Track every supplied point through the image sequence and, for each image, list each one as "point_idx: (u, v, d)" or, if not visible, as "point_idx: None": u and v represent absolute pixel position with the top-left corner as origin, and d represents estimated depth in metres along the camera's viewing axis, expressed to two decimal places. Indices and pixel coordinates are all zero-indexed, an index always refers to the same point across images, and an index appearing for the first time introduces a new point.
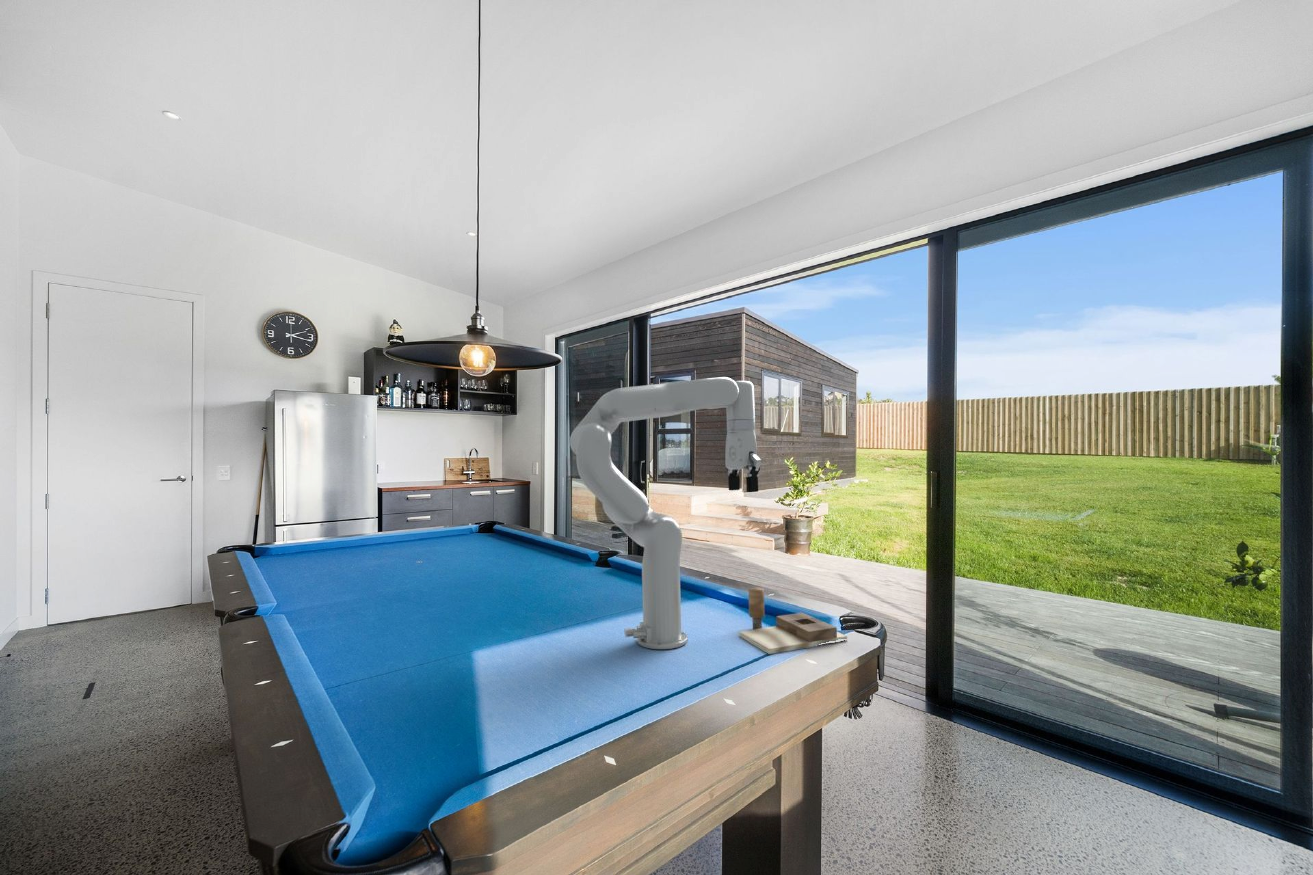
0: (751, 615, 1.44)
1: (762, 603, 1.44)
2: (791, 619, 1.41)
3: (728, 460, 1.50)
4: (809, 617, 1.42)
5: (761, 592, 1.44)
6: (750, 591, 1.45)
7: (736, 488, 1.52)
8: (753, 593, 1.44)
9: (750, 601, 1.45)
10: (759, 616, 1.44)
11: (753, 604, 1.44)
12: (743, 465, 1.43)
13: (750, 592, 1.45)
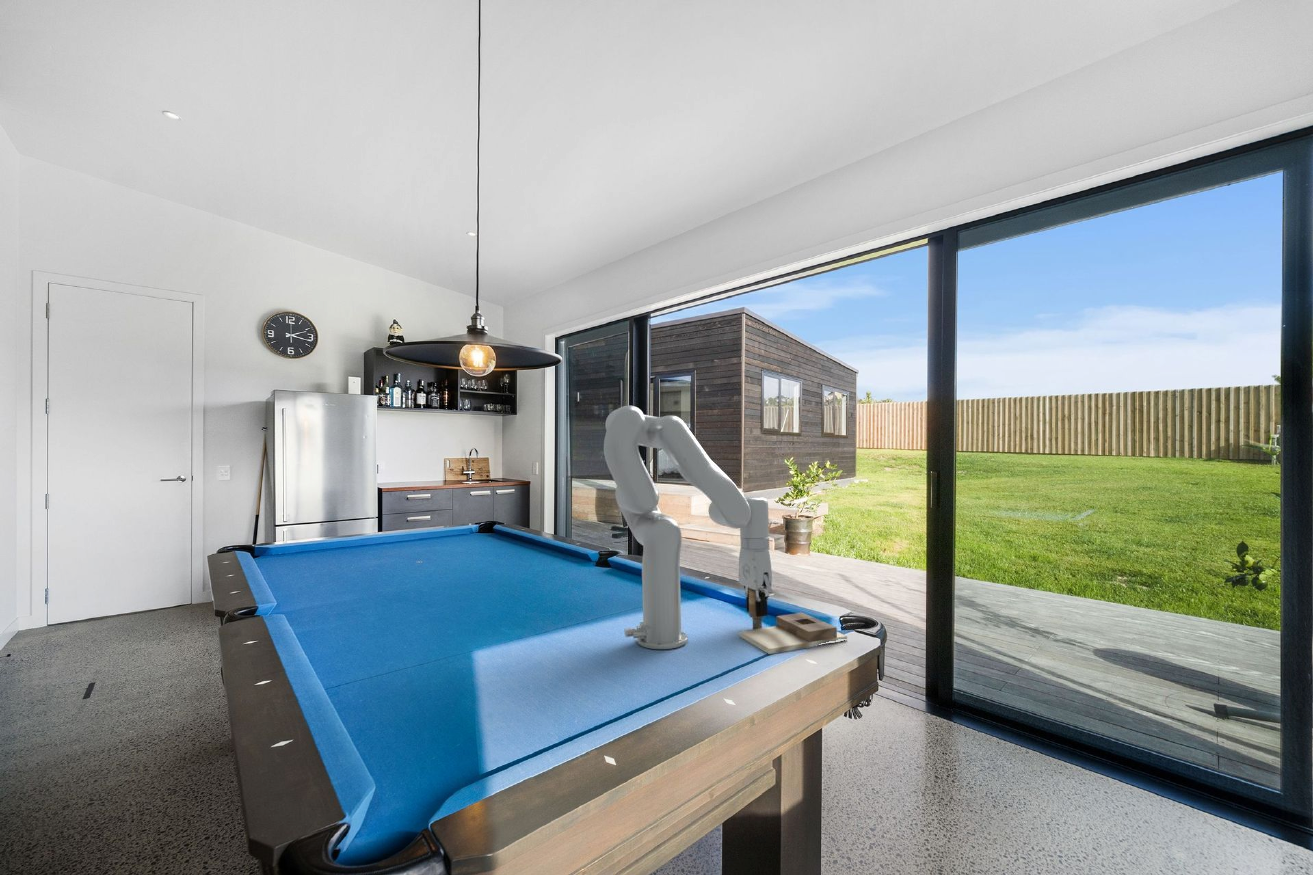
0: (751, 615, 1.44)
1: None
2: (791, 619, 1.41)
3: (741, 576, 1.47)
4: (809, 617, 1.42)
5: (761, 592, 1.44)
6: (750, 591, 1.45)
7: None
8: (753, 593, 1.44)
9: (750, 601, 1.45)
10: None
11: (754, 603, 1.44)
12: (757, 587, 1.40)
13: (750, 592, 1.45)
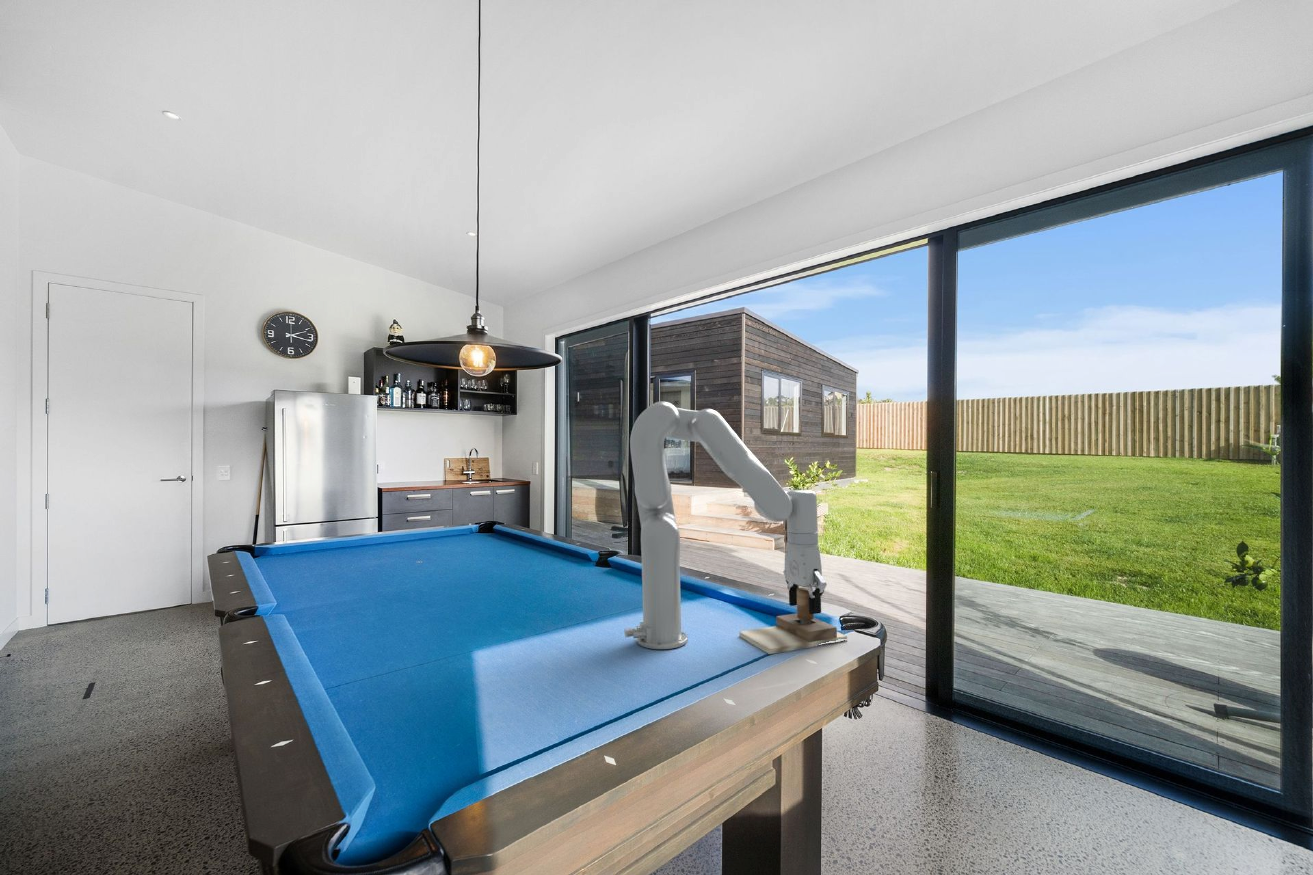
0: (800, 617, 1.38)
1: None
2: (791, 619, 1.41)
3: (788, 573, 1.41)
4: None
5: None
6: (799, 592, 1.38)
7: None
8: (802, 594, 1.37)
9: (799, 602, 1.38)
10: (808, 618, 1.37)
11: (803, 605, 1.37)
12: (807, 584, 1.34)
13: (799, 593, 1.38)
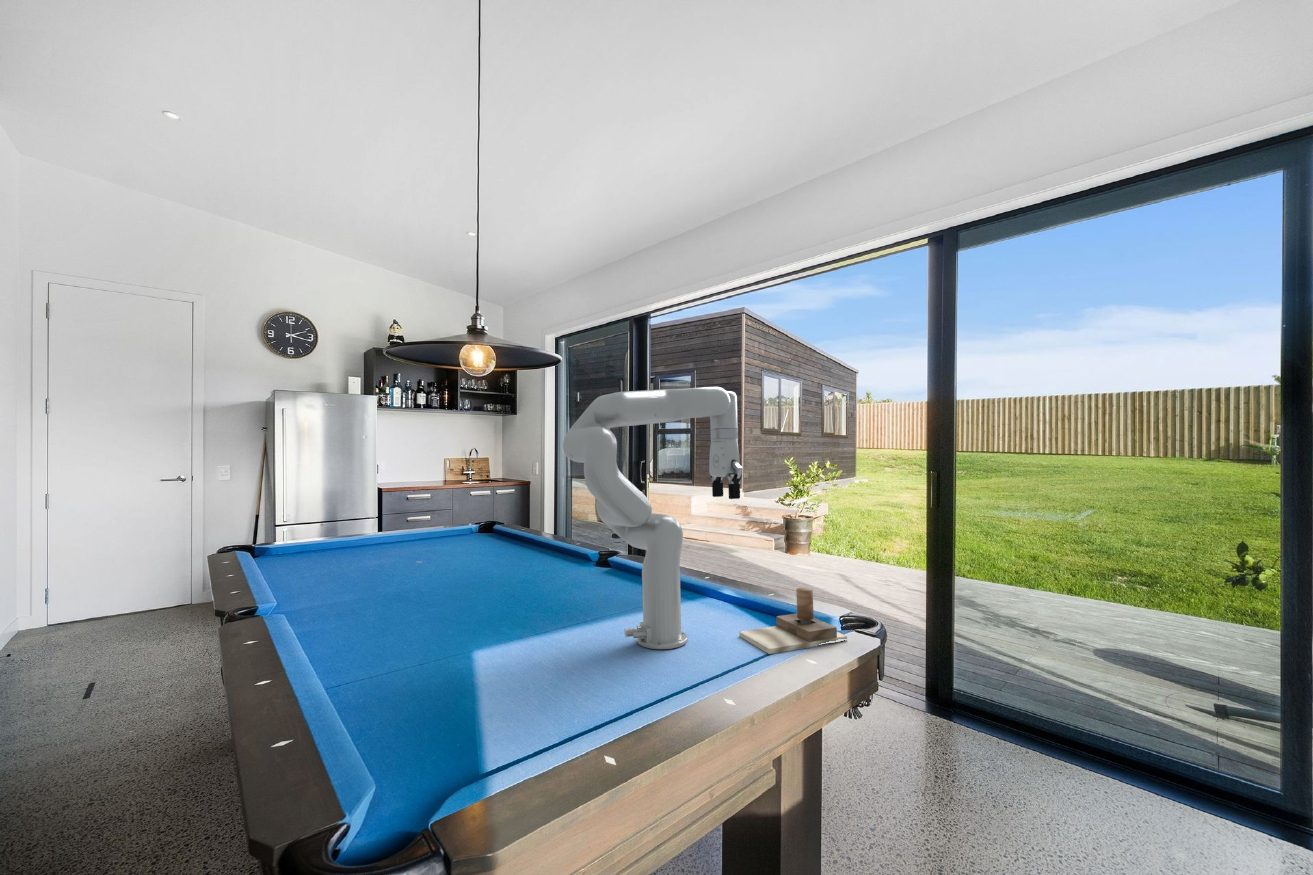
0: (800, 617, 1.38)
1: (812, 604, 1.38)
2: (791, 619, 1.41)
3: (712, 467, 1.54)
4: None
5: (810, 593, 1.38)
6: (798, 591, 1.38)
7: (720, 495, 1.57)
8: (802, 594, 1.37)
9: (798, 602, 1.38)
10: (808, 618, 1.37)
11: (802, 605, 1.37)
12: (725, 473, 1.48)
13: (798, 593, 1.38)
